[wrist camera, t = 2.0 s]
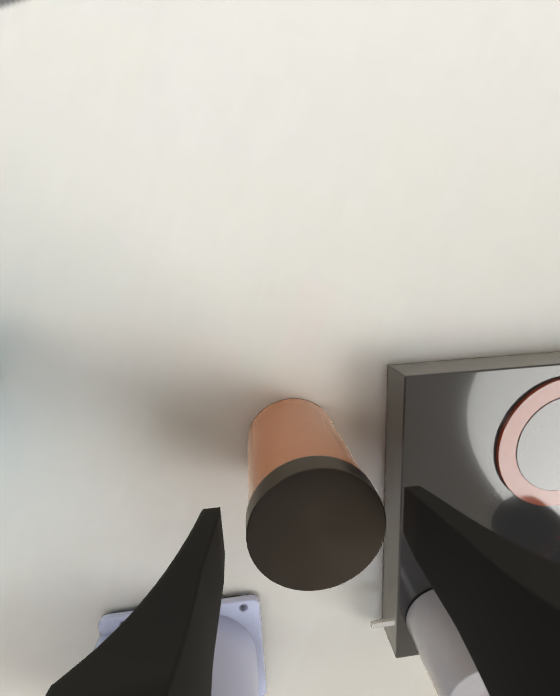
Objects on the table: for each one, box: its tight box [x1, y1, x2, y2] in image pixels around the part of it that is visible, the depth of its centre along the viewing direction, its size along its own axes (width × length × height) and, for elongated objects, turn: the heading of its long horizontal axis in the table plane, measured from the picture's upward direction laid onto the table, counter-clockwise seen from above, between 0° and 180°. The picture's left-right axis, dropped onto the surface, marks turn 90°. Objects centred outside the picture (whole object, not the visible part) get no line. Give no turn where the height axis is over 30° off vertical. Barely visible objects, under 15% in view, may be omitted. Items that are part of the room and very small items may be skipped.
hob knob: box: [406, 589, 490, 696], centre depth 18 cm, size 4×4×4 cm
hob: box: [371, 352, 560, 658], centre depth 20 cm, size 15×19×2 cm
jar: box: [246, 399, 386, 591], centre depth 16 cm, size 5×5×7 cm
